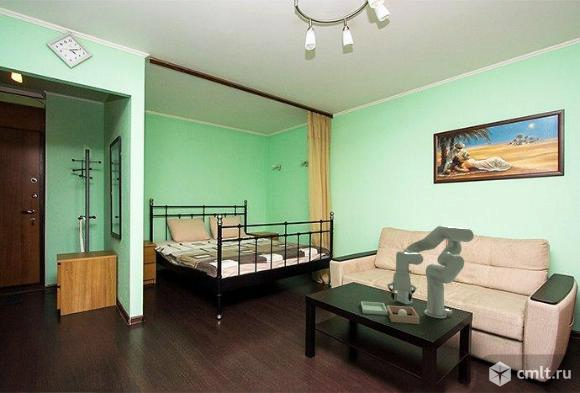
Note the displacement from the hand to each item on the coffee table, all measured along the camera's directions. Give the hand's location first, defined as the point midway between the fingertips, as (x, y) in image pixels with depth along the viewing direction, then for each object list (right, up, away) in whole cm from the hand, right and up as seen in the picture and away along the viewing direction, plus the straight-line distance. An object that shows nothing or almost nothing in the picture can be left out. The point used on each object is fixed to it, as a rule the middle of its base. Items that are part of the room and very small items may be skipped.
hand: (401, 299), depth 171 cm
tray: (-14, -11, +11) cm, 21 cm away
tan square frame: (+1, -11, 0) cm, 11 cm away
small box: (+13, -12, +27) cm, 33 cm away
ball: (+1, -8, 0) cm, 8 cm away
